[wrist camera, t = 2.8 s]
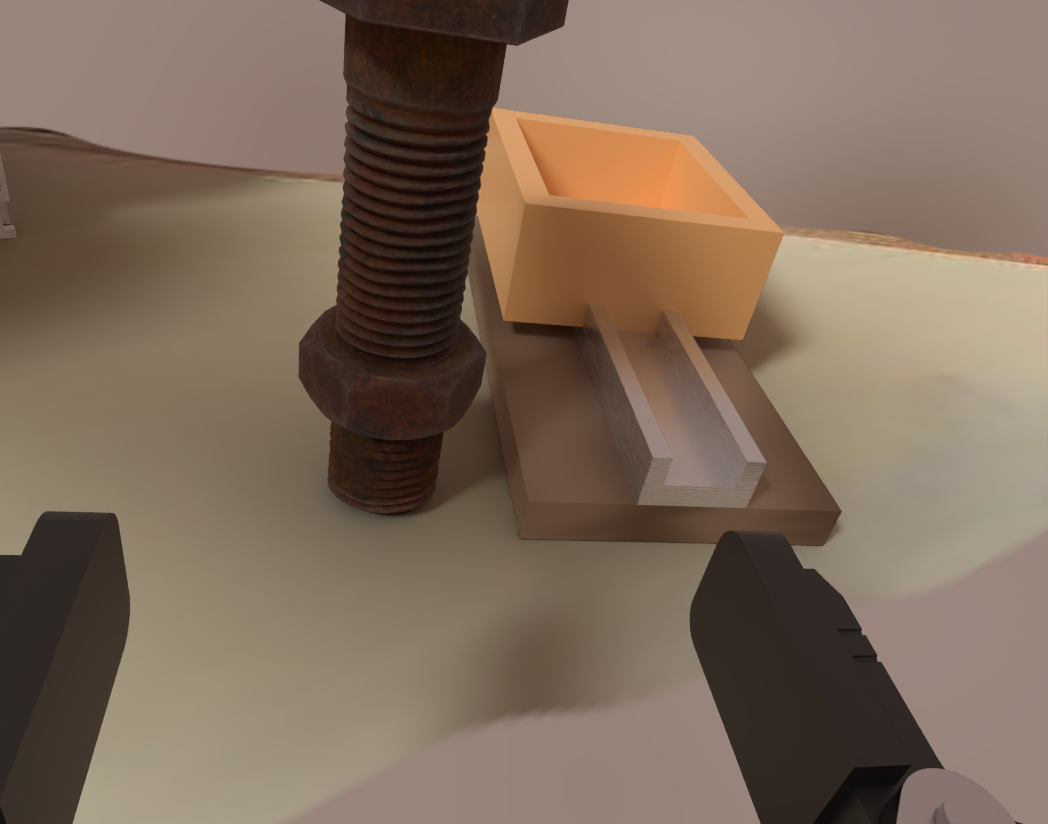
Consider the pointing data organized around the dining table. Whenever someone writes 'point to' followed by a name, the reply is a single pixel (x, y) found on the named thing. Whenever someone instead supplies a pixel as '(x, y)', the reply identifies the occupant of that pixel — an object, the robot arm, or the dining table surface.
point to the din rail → (668, 414)
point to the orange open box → (618, 227)
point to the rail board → (589, 451)
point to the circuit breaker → (5, 208)
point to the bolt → (408, 237)
